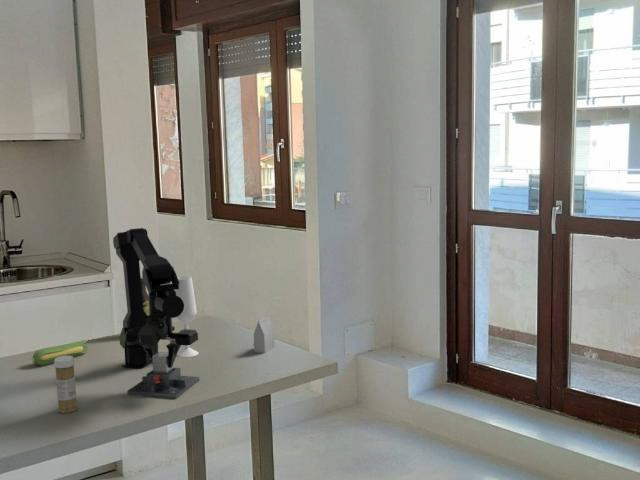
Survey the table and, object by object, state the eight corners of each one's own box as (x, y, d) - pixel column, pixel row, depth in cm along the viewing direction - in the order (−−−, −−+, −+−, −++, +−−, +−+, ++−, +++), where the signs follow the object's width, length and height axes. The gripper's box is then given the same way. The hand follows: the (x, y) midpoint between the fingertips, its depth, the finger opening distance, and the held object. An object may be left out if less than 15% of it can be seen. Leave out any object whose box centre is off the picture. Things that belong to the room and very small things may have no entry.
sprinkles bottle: (71, 405, 179) (68, 353, 177) (81, 409, 176) (77, 357, 174) (54, 410, 176) (50, 358, 174) (63, 415, 173) (59, 361, 171)
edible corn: (27, 352, 212) (34, 350, 209) (86, 338, 227) (94, 336, 224) (30, 369, 211) (38, 367, 208) (89, 354, 227) (97, 353, 224)
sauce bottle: (146, 337, 240) (143, 279, 237) (129, 337, 241) (126, 279, 238) (154, 332, 246) (151, 275, 243) (138, 331, 247) (134, 275, 244)
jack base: (127, 394, 186) (126, 377, 186) (153, 376, 200) (152, 361, 199) (176, 398, 183) (175, 381, 182) (199, 380, 196) (198, 364, 195)
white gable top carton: (274, 347, 226) (273, 316, 224) (264, 353, 220) (263, 321, 218) (264, 346, 227) (263, 315, 226) (254, 352, 221) (253, 320, 220)
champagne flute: (194, 357, 217) (190, 280, 213) (173, 356, 218) (169, 279, 214) (201, 350, 223) (198, 275, 220) (181, 350, 224) (177, 275, 221)
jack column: (153, 384, 189) (151, 356, 188) (160, 379, 193) (159, 351, 192) (167, 385, 188) (166, 357, 187) (174, 380, 192) (173, 352, 191)
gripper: (112, 315, 183) (116, 374, 185) (179, 319, 178) (181, 379, 180) (134, 305, 193) (137, 361, 196) (197, 308, 189) (200, 365, 191)
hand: (163, 366), depth 190 cm, fingers closed on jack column, 4 cm apart
